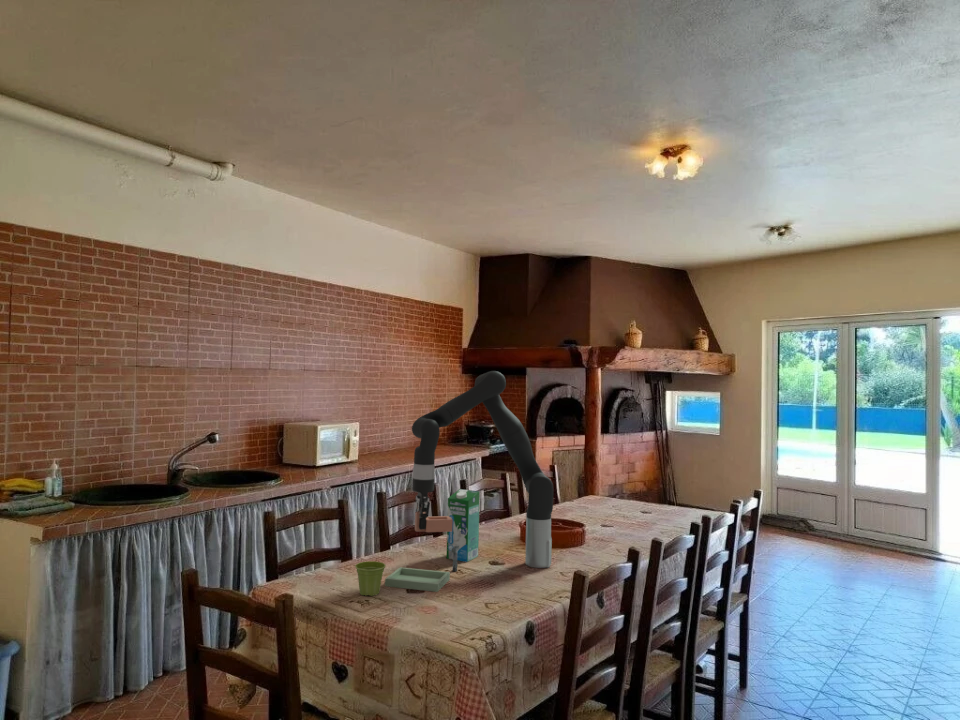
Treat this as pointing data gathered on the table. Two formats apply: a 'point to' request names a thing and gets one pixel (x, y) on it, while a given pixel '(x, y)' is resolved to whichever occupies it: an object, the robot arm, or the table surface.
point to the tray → (417, 579)
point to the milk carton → (464, 524)
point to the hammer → (455, 557)
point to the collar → (435, 523)
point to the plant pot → (370, 577)
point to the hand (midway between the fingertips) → (421, 527)
